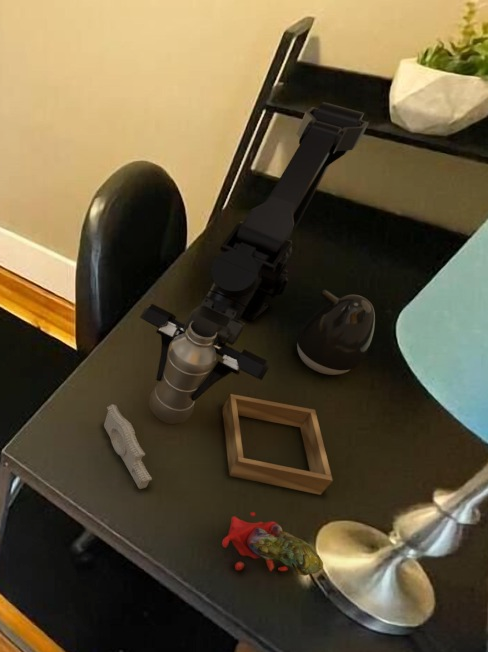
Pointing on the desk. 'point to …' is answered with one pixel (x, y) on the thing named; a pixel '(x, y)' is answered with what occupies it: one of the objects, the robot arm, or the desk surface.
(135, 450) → the garden wall model
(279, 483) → the square wooden frame
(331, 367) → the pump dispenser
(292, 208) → the robot arm
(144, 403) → the desk surface
